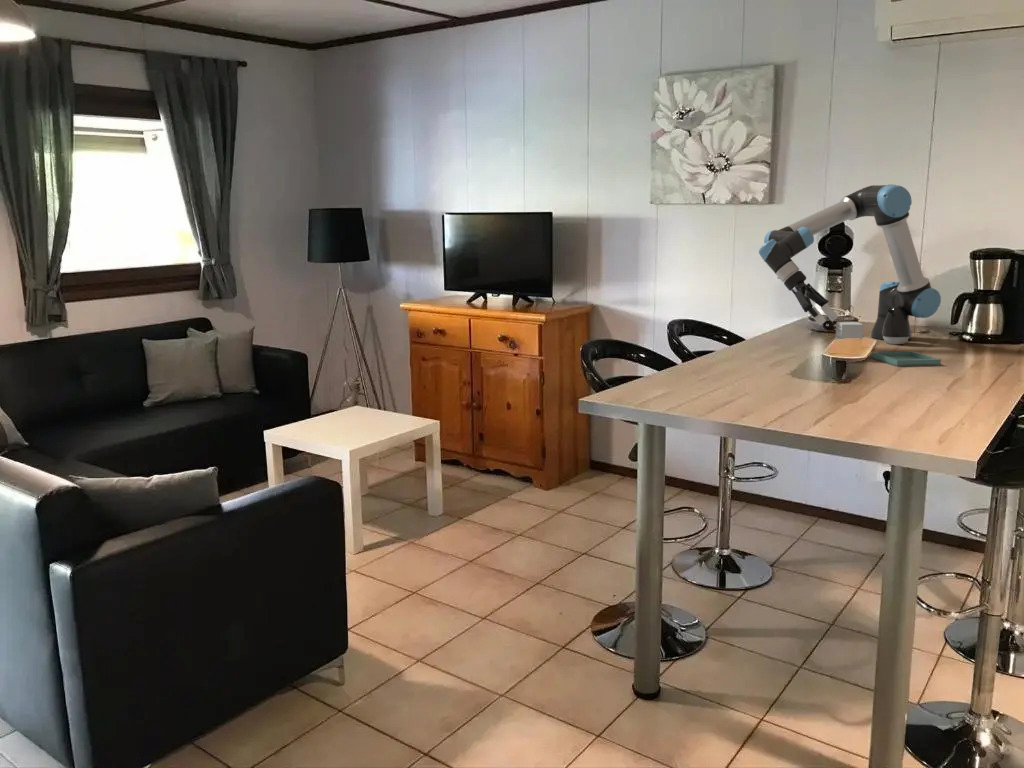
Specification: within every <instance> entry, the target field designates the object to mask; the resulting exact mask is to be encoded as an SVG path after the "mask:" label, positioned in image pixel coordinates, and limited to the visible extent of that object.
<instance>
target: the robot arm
mask: <svg viewBox="0 0 1024 768" xmlns="http://www.w3.org/2000/svg"><path fill="white" fill-rule="evenodd" d="M912 202H913V200H912V196H911V193H910V192H909V190H907V188H905V187H903V186H901V185H899V184H898V185H897V184H884V185H883V184H882V185H881V184H880V185H879V184H878V185H877V184H876V185H875V184H873V185H869V186H865V187H862V188H861V189H858V190H856V191H854V192H852V193H849V194H848V195H846V196H843V197H841V199H840V201H839V202H836V203H834V204H833V205H830V206H828V207H825V208H824V209H821V210H819V211H817V212H815V213H813V214H810V215H808V216H807V217H805V218H801V219H800V220H798V221H795V222H794V223H791V224H789V225H786V226H784V227H783V228H780V229H778V230H777V229H774V230H770V231H768V232H767V233H766V234H765V235H764V238H763V241H764V242H763V245H762V246H760V248H759V250H758V254H759V255H760V257H761V259H762V260H763V262H765V264H766V265H767V266H768V267H769V268H770V269H771V270H772V271H773V272H774V274H775V275H776V276H777V277H776V278H777V279H778V280H780V282H782V283H783V284H784V286H785V287H786V289H787V290H788V291H789V292H790V291H791V292H792V293H793V295H794V296H795V298H796V299H797V302H798V303H799V304H800V306H801V308H802V310H803V311H804V313H807V312H808V314H809V315H810V316H811V317H812V318H813V319H814V321H816V323H817V325H819V326H822V325H823V324H825V322H827V320H826V319H825V317H824V316H823V314H821V312H820V310H822V312H823V313H824V314H825V315H826V317H828V319H829V320H830V321H831V322H832V323H833V322H834V321H835V320H836V319H838V318H839V316H838V314H837V313H836V312H835V311H834V310H833V308H831V306H830V305H829V304H828V303H829V300H828V299H826V298H825V297H824V296H823V295H822V294H821V293H820V292H819V291H817V290H816V289H815V288H814V287H813V286H812V285H811V284H810V283H805V281H806V280H807V275H805V274H804V273H803V271H801V270H800V268H799V267H798V265H797V264H796V263H795V262H794V260H792V258H793V257H795V256H797V255H798V254H800V253H802V252H803V251H804V250H806V249H808V248H809V247H810V246H812V244H813V243H814V242H815V237H814V236H815V235H817V234H819V233H821V232H823V231H826V230H828V229H830V228H833V227H835V226H836V225H840V224H841V223H844V222H846V221H847V220H849V221H854V220H856V219H858V218H865V217H873V218H874V220H875V223H876V226H877V227H880V228H881V229H882V231H883V234H884V237H885V241H886V244H887V248H888V251H889V254H890V257H891V260H892V263H893V267H894V269H895V273H896V276H897V280H898V281H886V282H885V281H884V282H882V283H881V284H880V287H879V292H878V293H879V294H878V307H877V316H876V317H877V318H876V320H875V323H874V325H873V327H872V328H871V329H872V330H871V332H870V337H871V338H872V337H874V338H873V339H876V338H877V339H876V340H883V336H882V330H883V325H884V322H885V319H886V316H887V314H888V311H887V309H891V308H892V307H894V306H901V307H903V308H904V310H905V311H906V313H907V316H908V319H909V318H910V317H914V318H916V319H927V318H930V317H932V316H933V315H934V314H935V313H936V312H938V309H939V307H940V306H941V302H942V296H941V293H940V292H939V291H938V290H937V289H935V288H934V287H933V288H932V285H931V281H930V280H929V278H927V277H925V276H924V274H923V271H922V268H921V263H920V260H919V258H918V255H917V251H916V248H915V245H914V242H913V238H912V234H911V231H910V227H909V225H908V222H907V221H908V220H907V219H908V218H909V217H910V209H911V206H912V204H913V203H912ZM812 302H813V303H815V304H816V305H818V306H819V307H820V310H818V309H817V308H816V306H813V303H812ZM909 316H910V317H909ZM909 320H910V319H909ZM910 332H911V334H910V336H909V339H910V340H912V330H911V328H910Z"/></svg>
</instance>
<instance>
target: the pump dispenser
mask: <svg viewBox="0 0 1024 768" xmlns="http://www.w3.org/2000/svg"><path fill="white" fill-rule="evenodd" d="M887 311H888V314H887V316H886V319H885V322H884V325H883V330H882V336H883V339H884V340H883V339H882V340H883V341H884V342H885V343H886V344H887V343H889V344H888V345H892V344H903V345H905V344H906V343H907V342H908V341H909V340H908V339H909V336H910V334H911V333H912V331H911V332H910V329H911V323H910V321H909V320H910V319H908V316H907V313H906V311H905V310H904V308H903V307H901V306H894V307H892V308H891V309H887Z"/></svg>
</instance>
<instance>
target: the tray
mask: <svg viewBox="0 0 1024 768" xmlns="http://www.w3.org/2000/svg"><path fill="white" fill-rule="evenodd" d="M871 352H872V353H871ZM871 352H870V358H871V359H873V360H875V361H878V360H879V361H878V362H881V361H882V363H884V362H885V363H884V364H887V363H888V365H890V364H891V366H893V365H894V366H893V367H896V366H900V367H928V365H929V367H932V366H933V365H939V366H941V363H942V362H941V361H942V359H941V358H937V357H934V356H931V355H927V354H923V353H921V352H917V351H913V350H912V351H909V350H907V351H903V350H902V351H871ZM933 367H934V366H933Z"/></svg>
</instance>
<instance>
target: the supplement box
mask: <svg viewBox="0 0 1024 768" xmlns="http://www.w3.org/2000/svg"><path fill="white" fill-rule="evenodd" d="M863 330H864V324H863V323H861V322H858V321H836V325H835V336H834V337H835V338H834V339H835V340H837V339H844V338H860V339H862V340H863ZM835 340H834V341H835Z"/></svg>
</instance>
